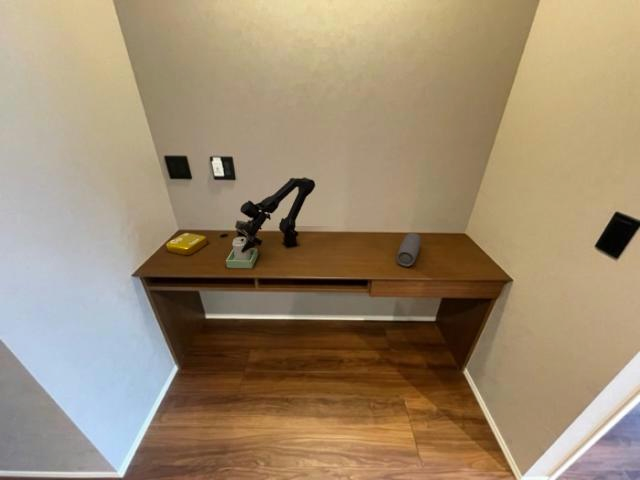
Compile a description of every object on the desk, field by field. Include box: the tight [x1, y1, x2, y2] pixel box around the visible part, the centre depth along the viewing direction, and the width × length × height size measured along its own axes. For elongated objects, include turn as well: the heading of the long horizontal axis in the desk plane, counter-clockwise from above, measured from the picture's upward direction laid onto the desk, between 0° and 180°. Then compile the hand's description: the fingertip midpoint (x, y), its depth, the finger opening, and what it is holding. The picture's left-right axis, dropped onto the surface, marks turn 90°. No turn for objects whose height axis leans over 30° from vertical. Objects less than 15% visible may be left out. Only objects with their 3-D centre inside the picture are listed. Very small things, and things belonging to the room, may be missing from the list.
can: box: [231, 236, 251, 261], centre depth 129 cm, size 8×8×12 cm
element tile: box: [165, 232, 208, 256], centre depth 143 cm, size 15×15×5 cm
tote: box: [225, 247, 259, 269], centre depth 131 cm, size 12×12×4 cm
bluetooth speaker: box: [396, 232, 422, 267], centre depth 135 cm, size 23×9×10 cm, turn 154°
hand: (238, 248), depth 128 cm, fingers closed on can, 7 cm apart
